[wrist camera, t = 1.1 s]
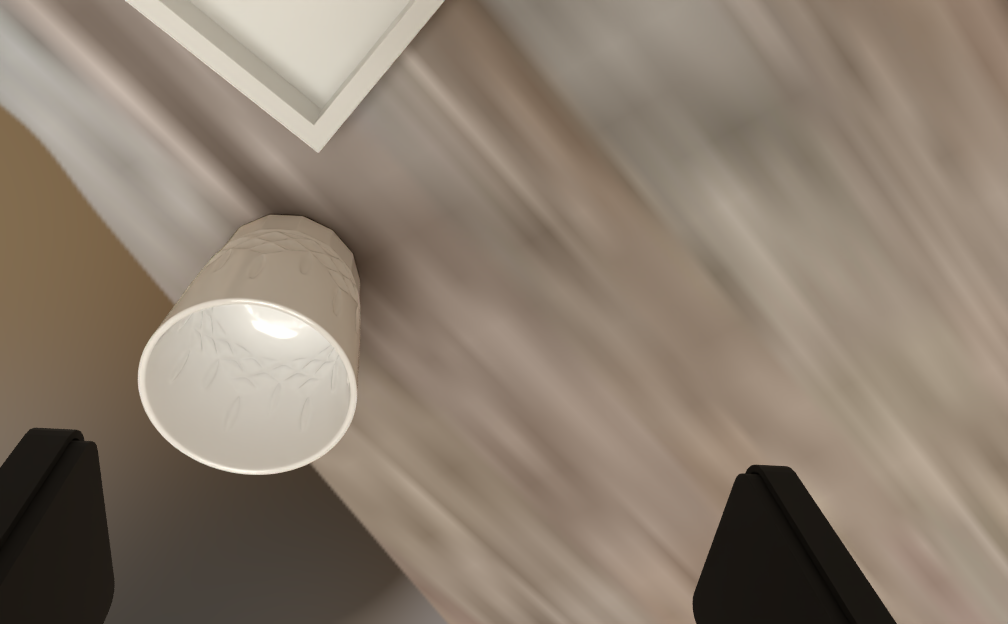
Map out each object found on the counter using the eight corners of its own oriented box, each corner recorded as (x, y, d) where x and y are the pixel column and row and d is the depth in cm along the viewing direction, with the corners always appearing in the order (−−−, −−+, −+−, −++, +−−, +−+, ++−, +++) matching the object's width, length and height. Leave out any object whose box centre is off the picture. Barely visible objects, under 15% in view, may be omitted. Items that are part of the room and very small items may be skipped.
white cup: (371, 204, 35) (355, 301, 27) (371, 348, 39) (357, 475, 30) (197, 197, 34) (121, 295, 26) (214, 345, 38) (152, 475, 29)
